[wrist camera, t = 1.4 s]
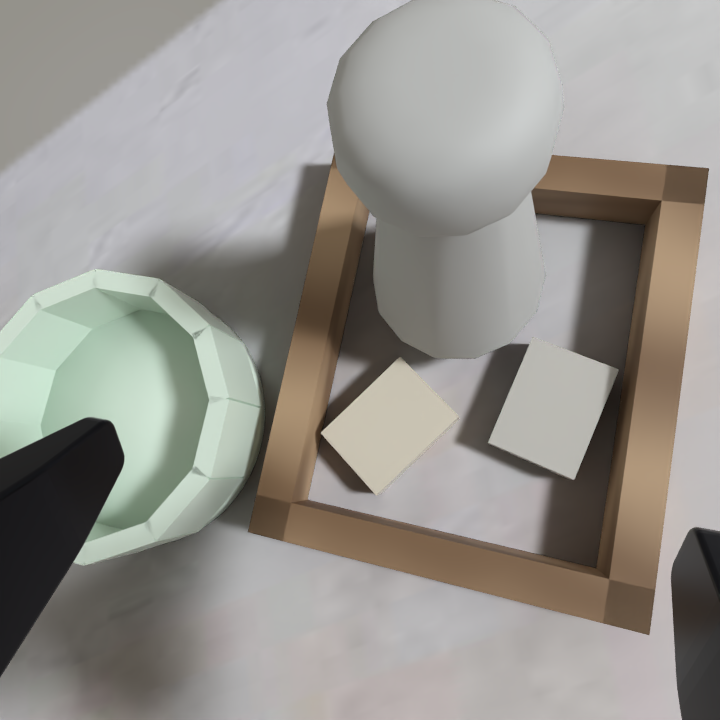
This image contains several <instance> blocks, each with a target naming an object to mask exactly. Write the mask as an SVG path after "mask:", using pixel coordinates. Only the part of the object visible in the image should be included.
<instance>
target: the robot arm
mask: <svg viewBox="0 0 720 720" xmlns="http://www.w3.org/2000/svg"><path fill="white" fill-rule="evenodd" d="M124 460H125V456H124V451H123V449H122V446H121V443H120V440H119V437H118V434H117V432H116V429H115V426H114V424H113V423H112V422H111V421H109V420H106V419H100V418H95V417H86V418H83V419H81V420H79V421H77V422H75V423H73V424H71V425H69V426H66V427H64V428H62V429H60V430H58V431H56V432H54V433H52V434H50V435H48V436H46V437H44V438H42V439H40V440H38V441H35V442H33V443H31V444H29V445H27V446H25V447H23V448H21V449H19V450H17V451H15V452H13V453H11V454H8V455H6V456H4V457H2V458H0V677H1V675H2V674H3V672H4V671H5V669H6V667H7V666H8V664H9V663H10V661H11V660H12V658H13V656H14V655H15V653H16V652H17V650H18V649H19V647H20V645H21V644H22V642H23V641H24V639H25V637H26V636H27V634H28V633H29V631H30V630H31V628H32V626H33V625H34V623H35V622H36V620H37V619H38V617H39V615H40V614H41V612H42V611H43V609H44V608H45V606H46V604H47V603H48V601H49V600H50V598H51V596H52V595H53V593H54V592H55V590H56V589H57V587H58V585H59V584H60V582H61V581H62V579H63V578H64V576H65V574H66V573H67V571H68V570H69V568H70V567H71V565H72V563H73V562H74V560H75V559H76V557H77V555H78V554H79V552H80V550H81V549H82V547H83V545H84V543H85V541H86V540H87V538H88V536H89V534H90V532H91V530H92V528H93V526H94V524H95V522H96V520H97V518H98V516H99V514H100V512H101V510H102V508H103V506H104V504H105V502H106V500H107V498H108V496H109V494H110V492H111V491H112V489H113V487H114V485H115V483H116V481H117V479H118V477H119V475H120V473H121V471H122V468H123V465H124ZM671 587H672V605H673V624H674V642H675V661H676V677H677V690H678V697H679V704H680V710H681V716H682V720H720V531H715V530H710V529H704V528H699V527H694V528H692V529H691V530H690V531H689V532H688V534H687V536H686V538H685V540H684V542H683V544H682V546H681V548H680V550H679V552H678V554H677V557H676V559H675V561H674V563H673V567H672V572H671Z"/></svg>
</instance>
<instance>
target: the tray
mask: <svg viewBox="0 0 720 720" xmlns="http://www.w3.org/2000/svg"><path fill="white" fill-rule="evenodd" d="M708 172H709V168H698V167H687V166H675V165H663V164H651V163H639V162H628V161H616V160H604V159H592V158H580V157H569V156H557V155H552V156H551V159H550V162H549V166H548V169H547V172H546V174H545V175H544V177H543V178H542V179H541V180H540V181H539V183H538V184H537V185H536V186H535V187H534V189H533V190H532V191H531V194H532V199H533V205H534V211H535V213H539V214H549V215H558V216H567V217H577V218H586V219H595V220H605V221H614V222H623V223H633V224H642V225H645V230H644V237H643V244H642V251H641V258H640V265H639V272H638V279H637V286H636V293H635V300H634V307H633V314H632V321H631V328H630V335H629V342H628V349H627V356H626V363H625V370H624V377H623V384H622V391H621V398H620V405H619V412H618V419H617V426H616V433H615V440H614V447H613V454H612V461H611V468H610V475H609V482H608V489H607V496H606V503H605V510H604V518H603V525H602V532H601V539H600V546H599V553H598V560H597V567H596V568H593V567H589V566H585V565H580V564H576V563H572V562H568V561H564V560H559V559H555V558H551V557H547V556H542V555H538V554H534V553H530V552H526V551H521V550H517V549H513V548H509V547H504V546H500V545H496V544H492V543H488V542H483V541H479V540H475V539H471V538H466V537H462V536H458V535H454V534H450V533H445V532H441V531H437V530H433V529H428V528H424V527H420V526H416V525H412V524H407V523H403V522H399V521H395V520H390V519H386V518H382V517H378V516H374V515H369V514H365V513H361V512H357V511H352V510H348V509H344V508H340V507H336V506H331V505H327V504H323V503H319V502H314V501H310V500H307V499H308V495H309V490H310V486H311V481H312V476H313V472H314V467H315V462H316V458H317V453H318V448H319V444H320V439H321V432H322V430H323V425H324V420H325V416H326V411H327V406H328V402H329V397H330V392H331V388H332V383H333V378H334V374H335V369H336V364H337V360H338V355H339V350H340V346H341V341H342V336H343V332H344V327H345V323H346V318H347V313H348V309H349V304H350V299H351V295H352V290H353V285H354V281H355V276H356V271H357V267H358V262H359V257H360V253H361V248H362V243H363V239H364V234H365V229H366V225H367V220H368V215H369V210H368V209H367V208H366V206H365V205H364V204H363V203H362V202H361V200H360V199H359V198H358V197H357V196H356V194H355V193H354V192H353V191H352V190H351V188H350V187H349V186H348V185H347V184H346V182H345V180H344V179H343V177H342V176H341V174H340V172H339V171H338V169H337V165H336V159H335V153H334V156H333V160H332V164H331V169H330V173H329V178H328V182H327V186H326V191H325V195H324V200H323V204H322V208H321V213H320V217H319V222H318V226H317V230H316V235H315V239H314V244H313V248H312V252H311V257H310V261H309V266H308V270H307V274H306V279H305V283H304V288H303V292H302V296H301V301H300V305H299V310H298V314H297V318H296V323H295V327H294V332H293V336H292V340H291V345H290V349H289V354H288V358H287V362H286V367H285V371H284V376H283V380H282V384H281V389H280V393H279V398H278V402H277V406H276V411H275V415H274V419H273V424H272V428H271V433H270V437H269V441H268V446H267V450H266V455H265V459H264V463H263V468H262V472H261V477H260V481H259V485H258V490H257V494H256V499H255V503H254V507H253V512H252V516H251V521H250V525H249V529H248V532H250V533H254V534H257V535H261V536H265V537H269V538H273V539H277V540H281V541H285V542H289V543H293V544H296V545H300V546H304V547H308V548H312V549H316V550H320V551H324V552H328V553H332V554H335V555H339V556H343V557H347V558H351V559H355V560H359V561H363V562H367V563H370V564H374V565H378V566H382V567H386V568H390V569H394V570H398V571H402V572H406V573H409V574H413V575H417V576H421V577H425V578H429V579H433V580H437V581H441V582H445V583H448V584H452V585H456V586H460V587H464V588H468V589H472V590H476V591H480V592H483V593H487V594H491V595H495V596H499V597H503V598H507V599H511V600H515V601H519V602H522V603H526V604H530V605H534V606H538V607H542V608H546V609H550V610H554V611H557V612H561V613H565V614H569V615H573V616H577V617H581V618H585V619H589V620H593V621H596V622H600V623H604V624H608V625H612V626H616V627H620V628H624V629H628V630H632V631H635V632H639V633H643V634H647V635H649V634H650V626H651V618H652V610H653V603H654V595H655V587H656V579H657V571H658V563H659V556H660V548H661V540H662V532H663V524H664V516H665V509H666V501H667V493H668V485H669V477H670V469H671V462H672V454H673V446H674V438H675V430H676V422H677V415H678V407H679V399H680V391H681V383H682V376H683V368H684V360H685V352H686V344H687V336H688V329H689V321H690V313H691V305H692V297H693V289H694V282H695V274H696V266H697V258H698V250H699V242H700V235H701V227H702V219H703V211H704V203H705V195H706V188H707V180H708Z"/></svg>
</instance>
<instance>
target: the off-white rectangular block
mask: <svg viewBox="0 0 720 720" xmlns="http://www.w3.org/2000/svg"><path fill="white" fill-rule="evenodd" d="M618 371H619V369H617V368H614V367H611V366H609V365H606V364H603V363H601V362H598V361H595V360H593V359H590V358H587V357H585V356H582V355H579V354H577V353H574V352H572V351H569V350H566V349H564V348H561V347H558V346H556V345H553V344H550V343H548V342H545V341H542V340H540V339H537V338H534V337H532V339H531V342H530V344H529V347H528V349H527V351H526V354H525V356H524V358H523V361H522V363H521V365H520V368H519V370H518V373H517V375H516V377H515V380H514V382H513V384H512V387H511V389H510V392H509V394H508V396H507V399H506V401H505V403H504V406H503V408H502V410H501V413H500V415H499V418H498V420H497V422H496V425H495V427H494V429H493V432H492V434H491V437H490V439H489V441H488V444H489V445H491V446H493V447H496V448H498V449H500V450H503V451H505V452H507V453H510V454H512V455H514V456H516V457H519V458H521V459H523V460H526V461H528V462H530V463H532V464H535V465H537V466H539V467H542V468H544V469H546V470H548V471H551V472H553V473H555V474H558V475H560V476H562V477H565V478H567V479H570V480H574V479H575V477H576V474H577V472H578V469H579V467H580V464H581V462H582V460H583V457H584V455H585V452H586V450H587V447H588V445H589V442H590V440H591V437H592V435H593V432H594V430H595V428H596V425H597V423H598V420H599V418H600V415H601V413H602V410H603V408H604V405H605V403H606V400H607V398H608V396H609V393H610V391H611V388H612V386H613V383H614V381H615V378H616V376H617V373H618Z"/></svg>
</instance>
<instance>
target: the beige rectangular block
mask: <svg viewBox="0 0 720 720" xmlns="http://www.w3.org/2000/svg"><path fill="white" fill-rule="evenodd" d="M458 420H460V419H459V416H458V415H457V414H456V413H455V412H454V411H453V410H452V409H451V408H450V407H449V406H448V405H447V404H446V403H445V402H444V401H443V400H442V399H441V398H440V397H439V396H438V395H437V394H436V393H435V392H434V391H433V390H432V389H431V388H430V387H429V386H428V385H427V384H426V382H425V381H424V380H423V379H422V378H421V377H420V376H419V375H418V374H417V373H416V372H415V371H414V370H413V369H412V368H411V367H410V366H409V365H408V364H407V363H406V362H405V361H404V360H403V359H402V358H401V357H399V358H398V359H397V360H396V361H395V362H394V363H393V364H392V365H391V366H390V367H389V368H388V369H387V370H386V371H385V372H383V373H382V374H381V375H380V376H379V377H378V378H377V379H376V380H375V381H374V382H373V383H372V384H371V385H370V386H369V387H368V388H367V389H366V390H365V391H364V392H363V393H362V394H361V395H360V396H358V397H357V398H356V399H355V400H354V401H353V402H352V403H351V404H350V405H349V406H348V407H347V408H346V409H345V410H344V411H343V412H342V413H341V414H340V415H339V416H338V417H337V418H336V419H334V420H333V421H332V422H331V423H330V424H329V425H328V426H327V427H326V428H325V429H324V430H323V431H322V432H321V434H322V435H323V436H324V437H325V438H326V440H327V441H328V442H329V443H330V444H331V445H332V446H333V447H334V449H335V450H336V451H337V452H338V453H339V454H340V455H341V456H342V458H343V459H344V460H345V461H346V462H347V463H348V464H349V466H350V467H351V468H352V469H353V470H354V471H355V472H356V473H357V475H358V476H359V477H360V478H361V479H362V480H363V481H364V482H365V484H366V485H367V486H368V487H369V488H370V489H371V490H372V491H373V493H374V494H375V495H376V496H377V495H380V494H382V493H383V492H384V491H385V490H386V489H387V488H388V487H389V486H391V485H392V484H393V483H394V482H395V481H396V480H397V479H398V478H399V477H400V476H401V475H402V474H403V473H404V472H405V471H406V470H407V469H408V468H409V467H410V466H411V465H412V464H414V463H415V462H416V461H417V460H418V459H419V458H420V457H421V456H422V455H423V454H424V453H425V452H426V451H427V450H428V449H429V448H430V447H431V446H432V445H433V444H434V443H435V442H437V441H438V440H439V439H440V438H441V437H442V436H443V435H444V434H445V433H446V432H447V431H448V430H449V429H450V428H451V427H452V426H453V425H454V424H455V423H456V422H457V421H458Z"/></svg>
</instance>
